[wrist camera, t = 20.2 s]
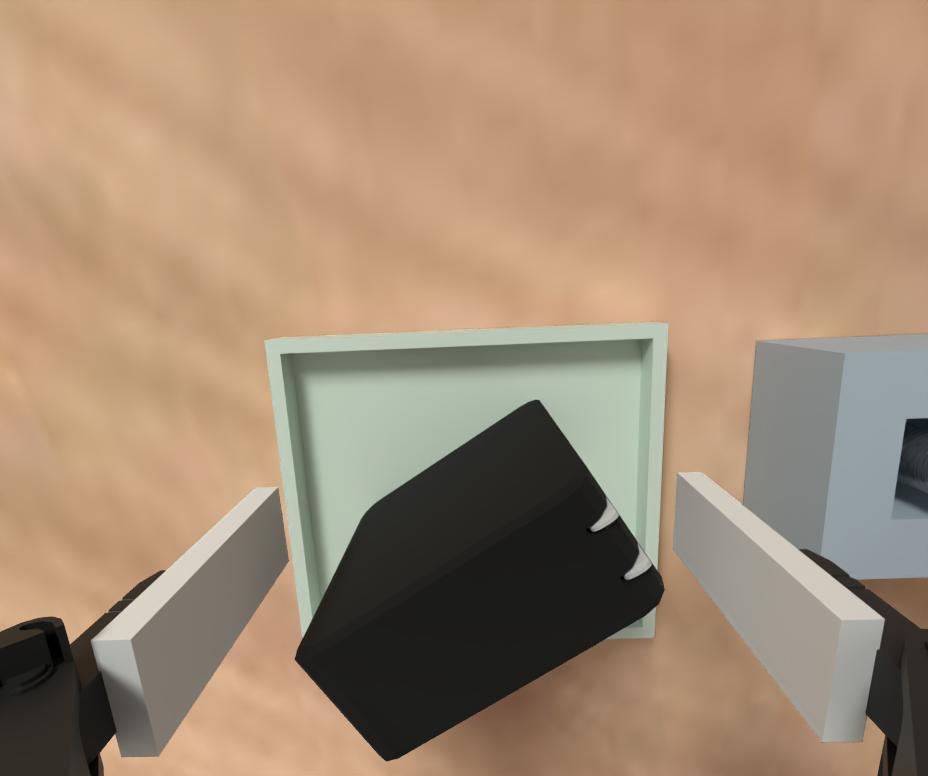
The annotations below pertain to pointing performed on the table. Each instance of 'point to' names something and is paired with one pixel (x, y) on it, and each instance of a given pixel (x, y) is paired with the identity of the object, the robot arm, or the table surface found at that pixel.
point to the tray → (457, 421)
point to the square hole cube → (840, 449)
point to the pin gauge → (914, 457)
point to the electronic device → (474, 585)
